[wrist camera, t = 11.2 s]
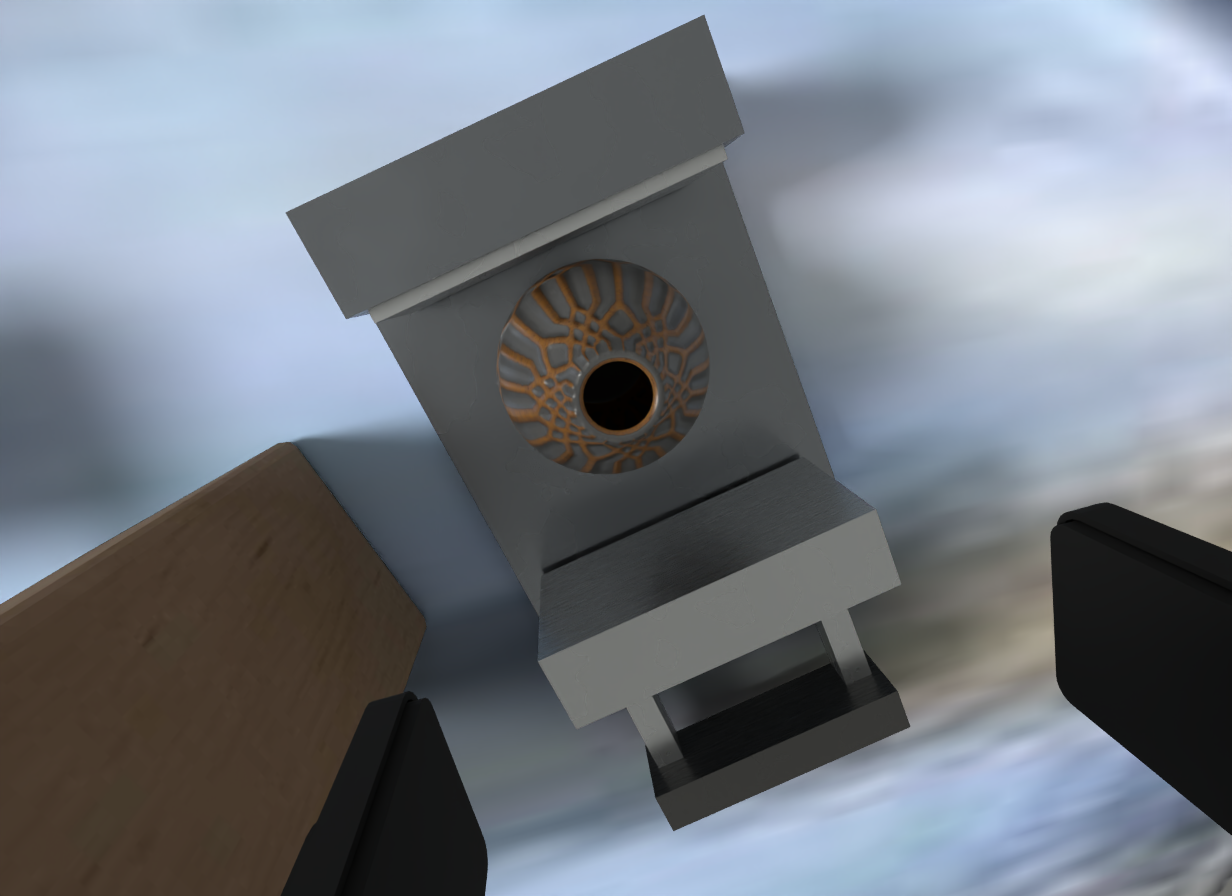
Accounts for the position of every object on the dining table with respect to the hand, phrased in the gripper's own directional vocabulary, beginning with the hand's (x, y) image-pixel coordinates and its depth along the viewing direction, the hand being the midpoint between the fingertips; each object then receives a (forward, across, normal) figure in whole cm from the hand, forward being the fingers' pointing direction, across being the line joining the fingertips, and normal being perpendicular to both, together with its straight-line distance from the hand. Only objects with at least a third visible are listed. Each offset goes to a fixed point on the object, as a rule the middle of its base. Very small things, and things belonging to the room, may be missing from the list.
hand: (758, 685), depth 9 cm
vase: (+17, 0, -3) cm, 17 cm away
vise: (+18, 0, -1) cm, 18 cm away
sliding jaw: (+16, -2, +10) cm, 19 cm away
